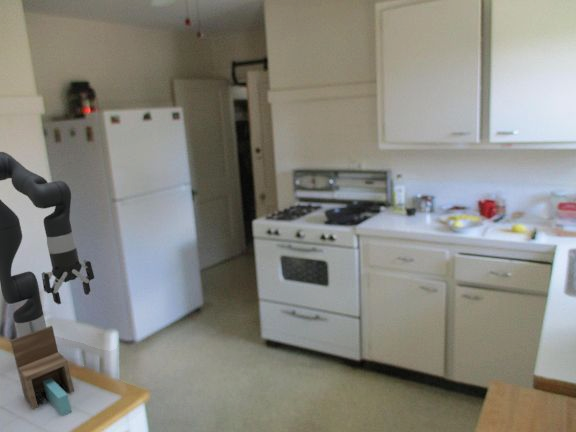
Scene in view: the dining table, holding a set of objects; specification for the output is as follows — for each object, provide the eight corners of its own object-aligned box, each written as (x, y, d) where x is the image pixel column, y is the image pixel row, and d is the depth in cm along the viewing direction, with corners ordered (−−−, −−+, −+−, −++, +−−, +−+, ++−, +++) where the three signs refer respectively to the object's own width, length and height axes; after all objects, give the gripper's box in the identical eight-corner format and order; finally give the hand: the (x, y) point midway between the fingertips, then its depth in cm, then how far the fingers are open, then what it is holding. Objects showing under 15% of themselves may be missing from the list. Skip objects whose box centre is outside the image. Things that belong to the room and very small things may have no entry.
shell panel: (46, 398, 152) (42, 381, 151) (54, 394, 154) (51, 377, 153) (62, 416, 142) (58, 398, 141) (71, 412, 144) (67, 394, 143)
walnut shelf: (24, 398, 153) (10, 340, 148) (63, 381, 161) (51, 325, 156) (33, 409, 147) (19, 349, 142) (74, 391, 155) (61, 333, 150)
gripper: (81, 240, 153) (91, 288, 157) (33, 253, 144) (44, 303, 148) (90, 244, 148) (100, 293, 152) (41, 257, 138) (53, 310, 142)
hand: (73, 298), depth 150 cm, fingers open, 8 cm apart
